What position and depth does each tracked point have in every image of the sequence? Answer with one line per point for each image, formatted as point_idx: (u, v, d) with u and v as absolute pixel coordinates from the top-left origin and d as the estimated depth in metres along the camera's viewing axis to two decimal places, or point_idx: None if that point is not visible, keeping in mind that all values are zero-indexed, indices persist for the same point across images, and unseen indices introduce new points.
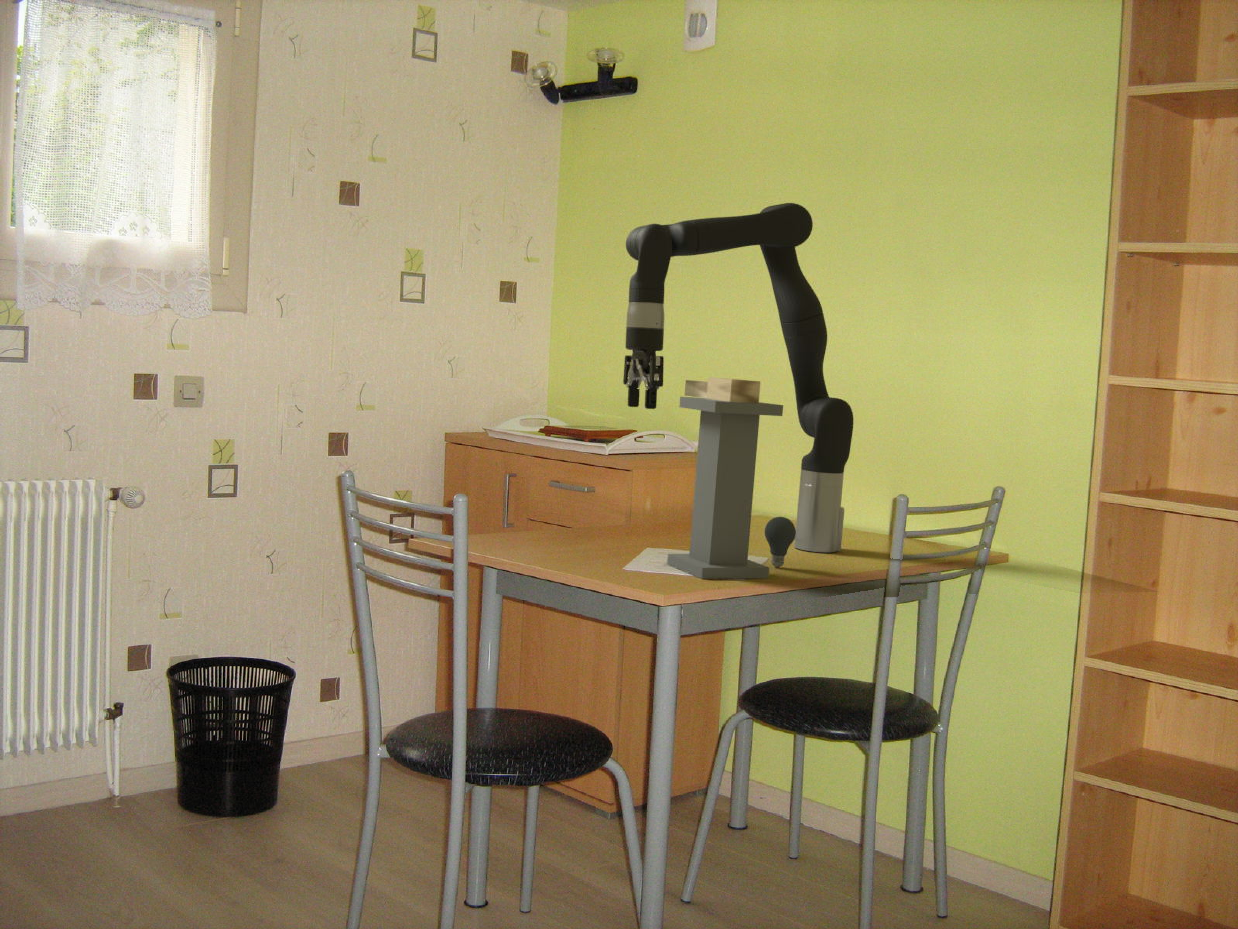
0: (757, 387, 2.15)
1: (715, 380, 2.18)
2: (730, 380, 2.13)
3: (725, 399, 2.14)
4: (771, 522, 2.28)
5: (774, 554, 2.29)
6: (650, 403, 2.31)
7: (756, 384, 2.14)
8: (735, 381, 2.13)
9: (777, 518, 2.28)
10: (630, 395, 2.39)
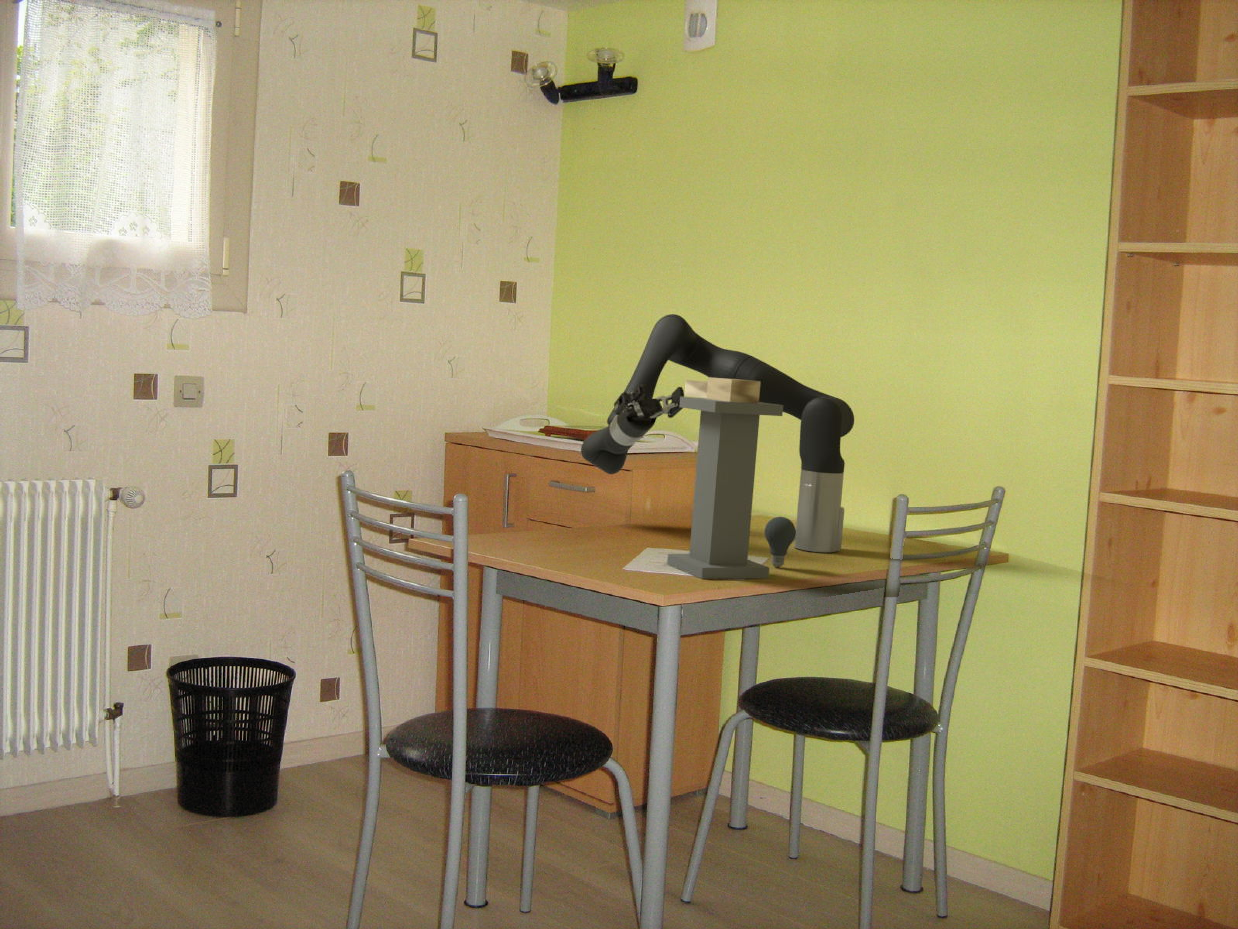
0: (757, 387, 2.15)
1: (715, 380, 2.18)
2: (730, 380, 2.13)
3: (725, 399, 2.14)
4: (771, 522, 2.28)
5: (774, 554, 2.29)
6: (638, 392, 2.43)
7: (756, 384, 2.14)
8: (735, 381, 2.13)
9: (777, 518, 2.28)
10: (675, 399, 2.48)
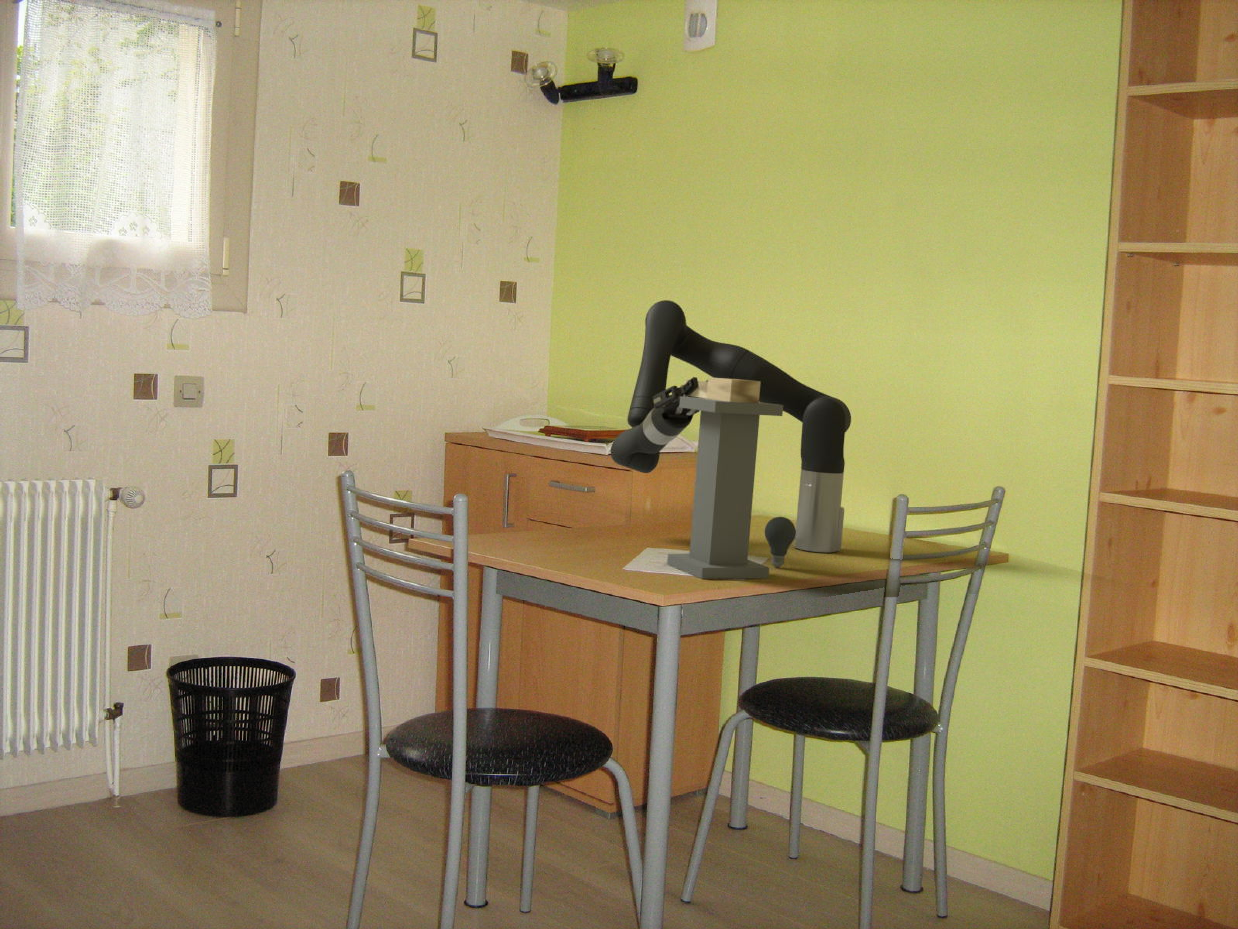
0: (757, 387, 2.15)
1: (715, 380, 2.18)
2: (730, 380, 2.13)
3: (725, 399, 2.14)
4: (771, 522, 2.28)
5: (774, 554, 2.29)
6: (689, 385, 2.28)
7: (756, 384, 2.14)
8: (735, 381, 2.12)
9: (777, 518, 2.28)
10: None
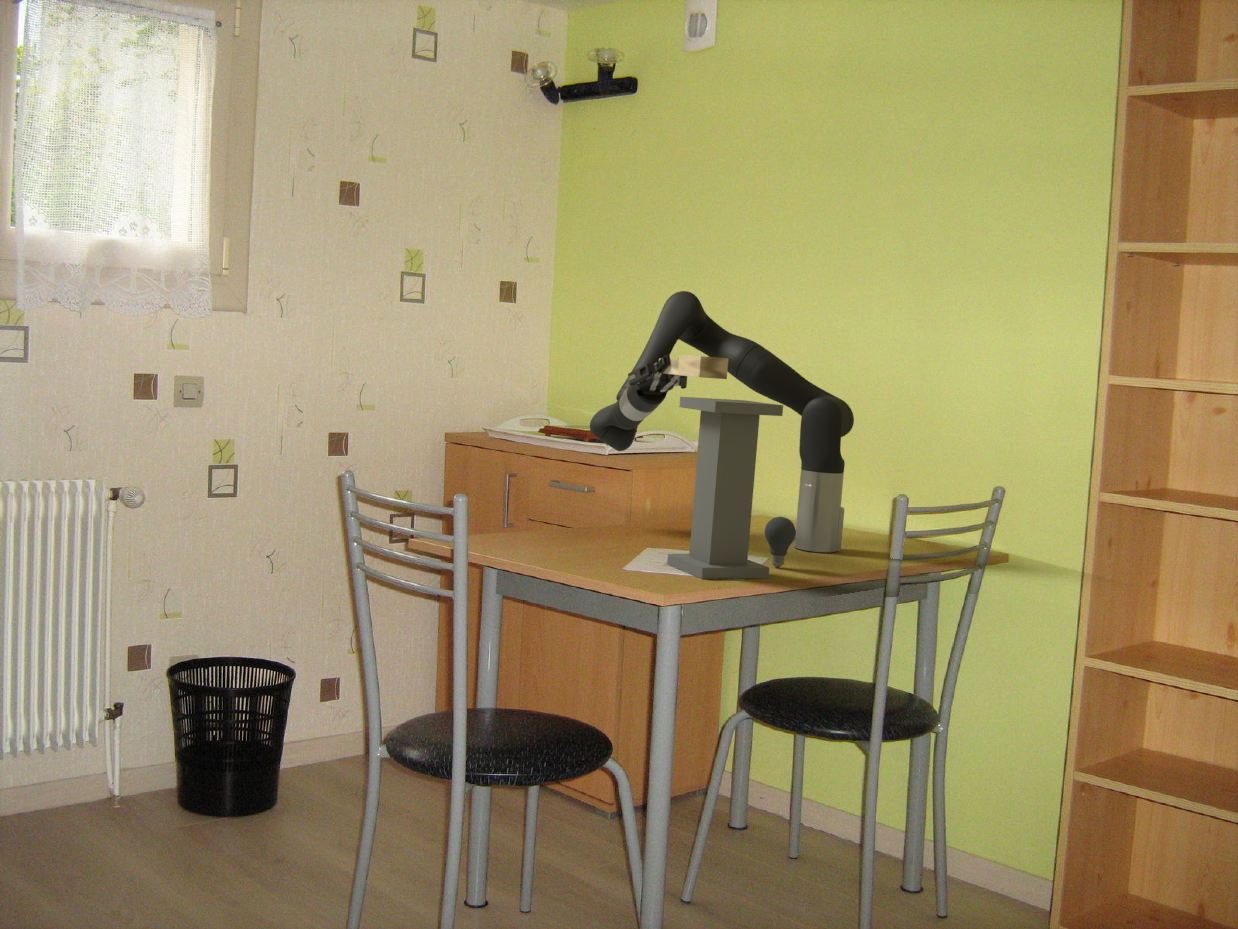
0: (725, 364, 2.26)
1: (685, 357, 2.29)
2: (699, 357, 2.24)
3: (695, 375, 2.25)
4: (771, 522, 2.28)
5: (774, 554, 2.29)
6: (662, 363, 2.39)
7: (724, 361, 2.25)
8: (704, 358, 2.24)
9: (777, 518, 2.28)
10: None
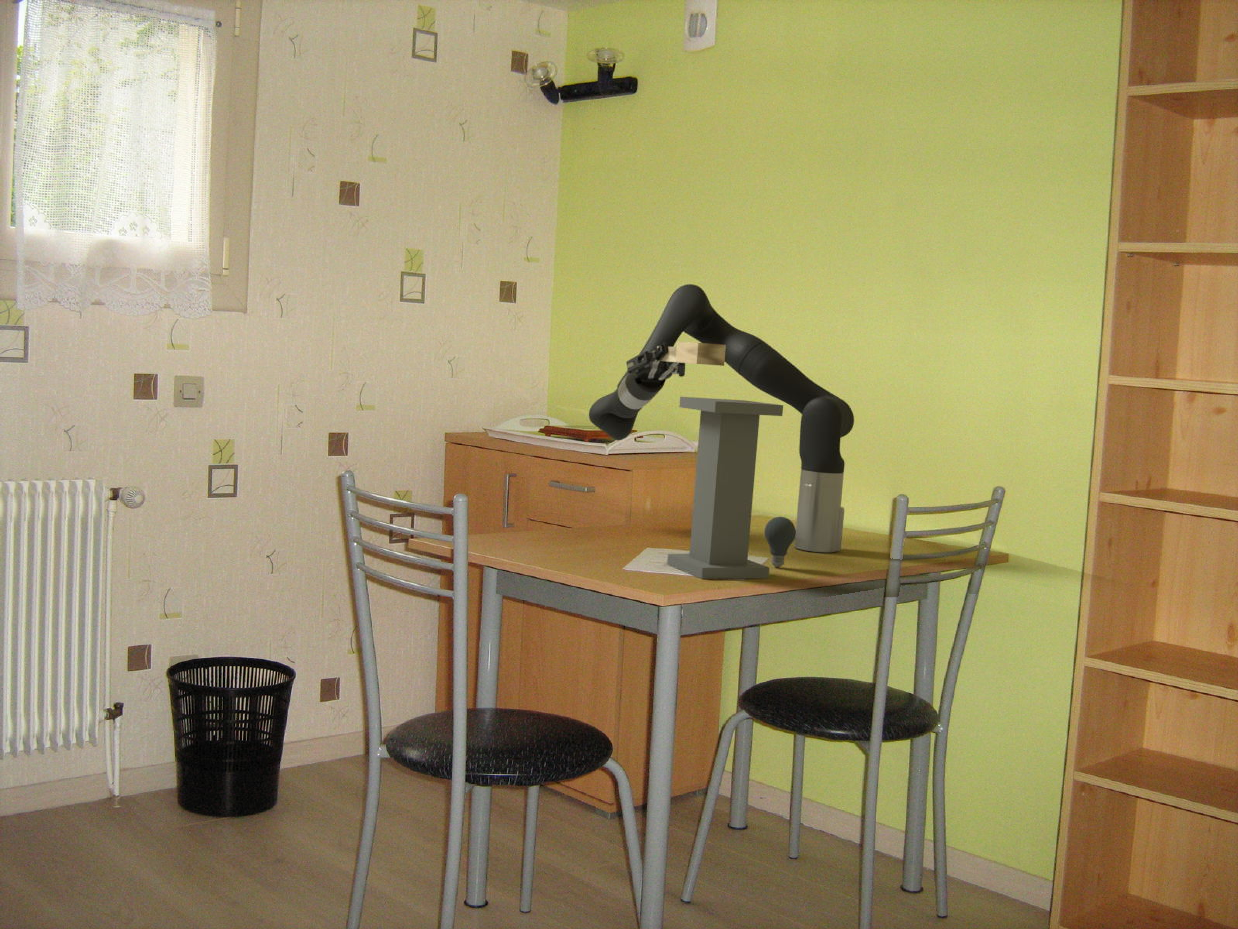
0: (723, 350, 2.27)
1: (683, 344, 2.30)
2: (697, 343, 2.25)
3: (692, 361, 2.26)
4: (771, 522, 2.28)
5: (774, 554, 2.29)
6: (660, 350, 2.40)
7: (722, 347, 2.26)
8: (701, 344, 2.25)
9: (777, 518, 2.28)
10: None
